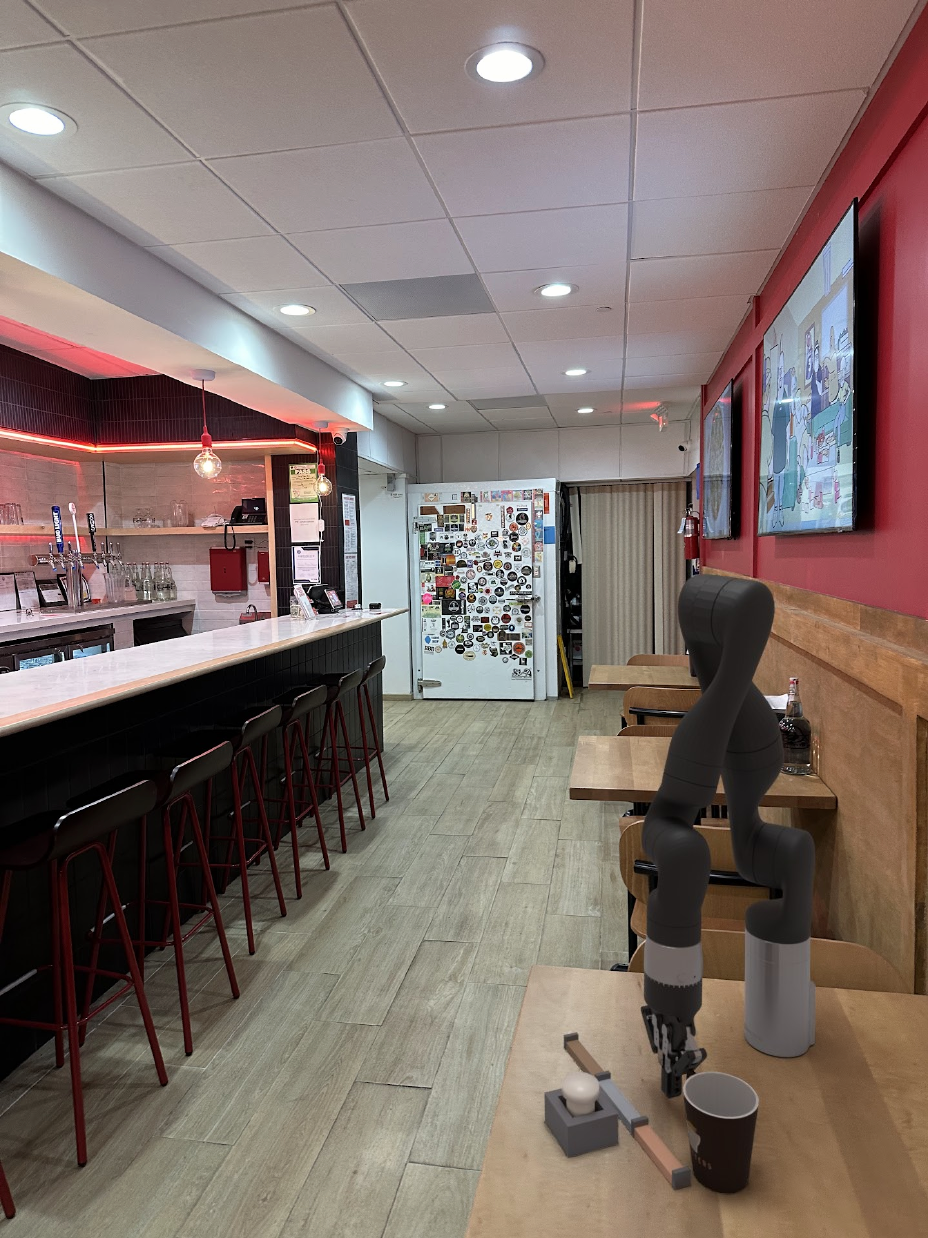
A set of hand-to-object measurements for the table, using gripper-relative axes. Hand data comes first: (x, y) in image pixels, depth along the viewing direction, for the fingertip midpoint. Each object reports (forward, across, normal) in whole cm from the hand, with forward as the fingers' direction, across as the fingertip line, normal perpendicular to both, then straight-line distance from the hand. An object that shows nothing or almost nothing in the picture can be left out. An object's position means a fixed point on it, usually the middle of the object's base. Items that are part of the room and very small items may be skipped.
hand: (671, 1094), depth 111 cm
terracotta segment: (+2, -8, +6) cm, 10 cm away
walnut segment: (+2, +12, +6) cm, 14 cm away
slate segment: (+2, +2, +6) cm, 7 cm away
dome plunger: (+2, 0, +13) cm, 13 cm away
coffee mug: (+2, -11, 0) cm, 11 cm away
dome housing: (+2, 0, +13) cm, 14 cm away
